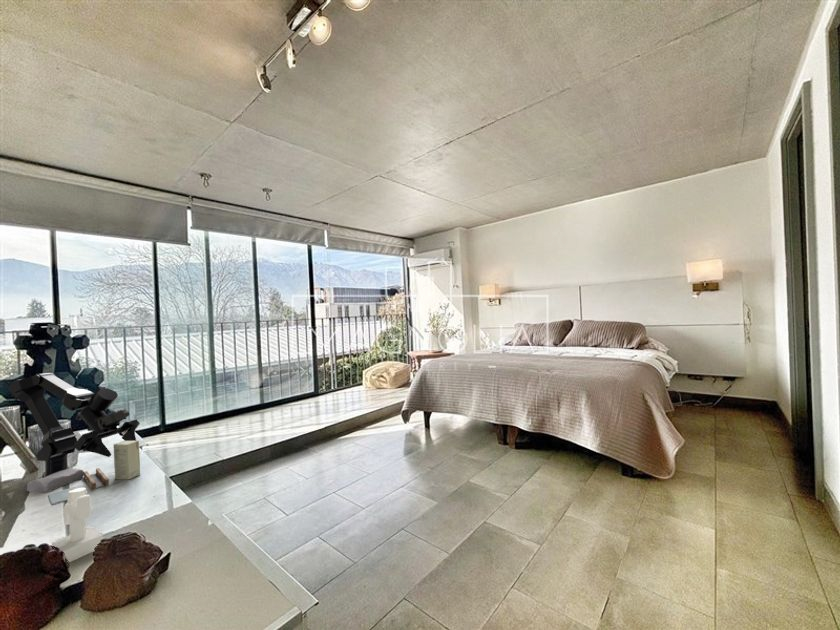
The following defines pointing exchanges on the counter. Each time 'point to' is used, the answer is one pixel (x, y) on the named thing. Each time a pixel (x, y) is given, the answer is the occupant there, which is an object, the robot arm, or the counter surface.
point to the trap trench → (96, 479)
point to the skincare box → (126, 459)
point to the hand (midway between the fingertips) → (123, 450)
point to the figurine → (78, 526)
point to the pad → (62, 495)
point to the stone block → (55, 480)
